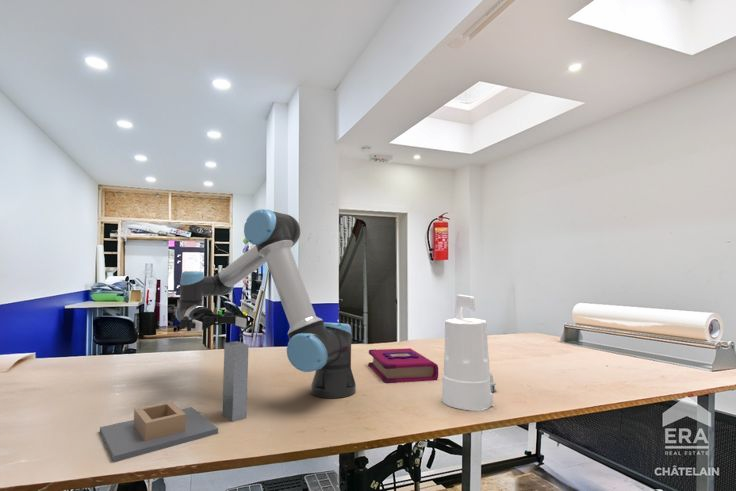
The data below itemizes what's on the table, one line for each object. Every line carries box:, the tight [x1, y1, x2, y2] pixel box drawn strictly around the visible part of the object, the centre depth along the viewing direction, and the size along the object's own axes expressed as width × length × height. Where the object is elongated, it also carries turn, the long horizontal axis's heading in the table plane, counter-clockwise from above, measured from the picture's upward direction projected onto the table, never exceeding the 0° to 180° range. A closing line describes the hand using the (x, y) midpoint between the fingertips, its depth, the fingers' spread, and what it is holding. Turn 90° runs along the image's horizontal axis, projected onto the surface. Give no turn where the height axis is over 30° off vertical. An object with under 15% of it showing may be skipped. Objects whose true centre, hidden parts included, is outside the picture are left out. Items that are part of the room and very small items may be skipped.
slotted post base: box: [99, 401, 219, 463], centre depth 96 cm, size 22×20×5 cm
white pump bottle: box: [441, 293, 496, 412], centre depth 122 cm, size 15×15×33 cm
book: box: [368, 347, 439, 384], centre depth 156 cm, size 21×28×8 cm
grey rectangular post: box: [221, 340, 249, 422], centre depth 108 cm, size 4×7×20 cm, turn 42°
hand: (223, 325), depth 116 cm, fingers open, 13 cm apart
